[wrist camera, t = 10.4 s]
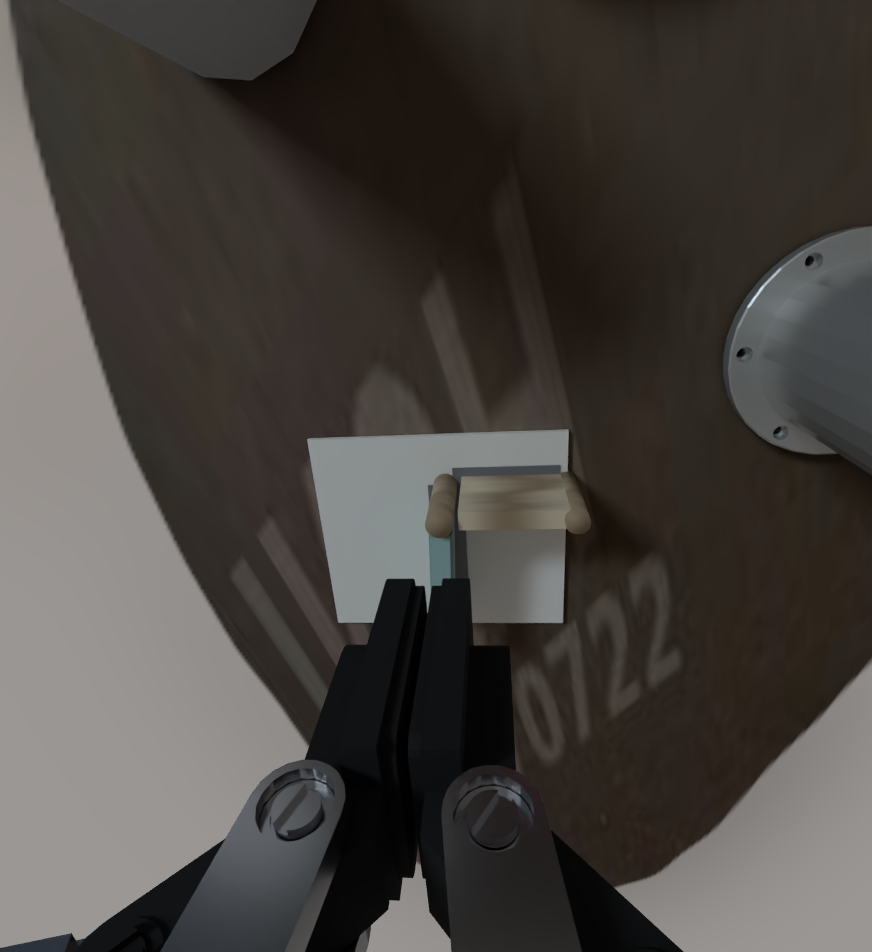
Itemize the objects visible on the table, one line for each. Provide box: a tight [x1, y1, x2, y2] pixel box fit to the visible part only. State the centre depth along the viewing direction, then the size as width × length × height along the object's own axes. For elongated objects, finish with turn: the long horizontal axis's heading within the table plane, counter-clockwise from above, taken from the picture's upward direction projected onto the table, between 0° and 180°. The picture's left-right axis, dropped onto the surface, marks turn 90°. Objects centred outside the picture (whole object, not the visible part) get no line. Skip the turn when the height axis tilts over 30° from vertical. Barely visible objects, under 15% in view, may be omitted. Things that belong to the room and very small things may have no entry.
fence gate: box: [429, 511, 455, 589], centre depth 37 cm, size 9×1×5 cm, turn 1°
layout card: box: [307, 429, 569, 623], centre depth 39 cm, size 17×15×1 cm
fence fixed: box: [425, 470, 591, 538], centre depth 34 cm, size 9×2×6 cm, turn 93°
